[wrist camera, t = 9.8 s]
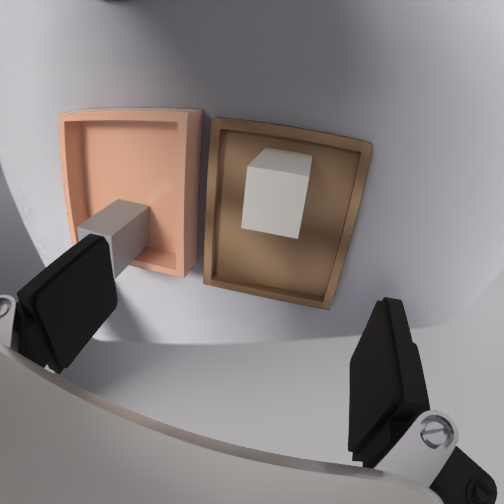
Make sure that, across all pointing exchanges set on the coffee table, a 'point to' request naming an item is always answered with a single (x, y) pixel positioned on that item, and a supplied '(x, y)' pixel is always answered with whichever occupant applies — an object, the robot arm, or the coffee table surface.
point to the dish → (137, 175)
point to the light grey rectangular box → (276, 192)
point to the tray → (313, 219)
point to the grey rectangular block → (120, 231)
